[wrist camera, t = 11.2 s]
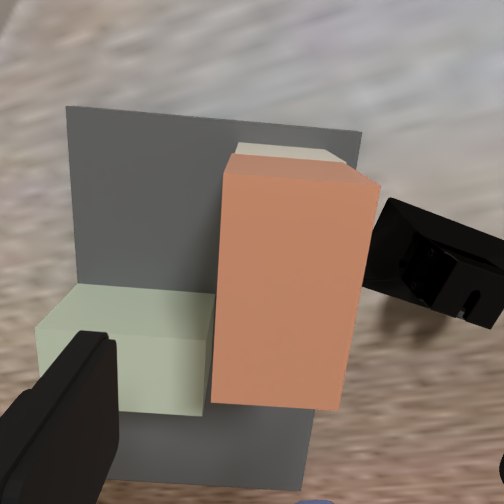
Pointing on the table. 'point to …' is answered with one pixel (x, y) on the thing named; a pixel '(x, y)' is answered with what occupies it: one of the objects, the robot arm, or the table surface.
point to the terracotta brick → (289, 279)
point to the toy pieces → (315, 502)
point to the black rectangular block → (436, 264)
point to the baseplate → (180, 276)
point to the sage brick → (141, 342)
